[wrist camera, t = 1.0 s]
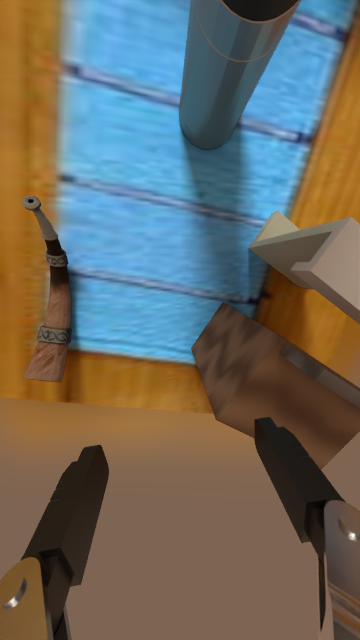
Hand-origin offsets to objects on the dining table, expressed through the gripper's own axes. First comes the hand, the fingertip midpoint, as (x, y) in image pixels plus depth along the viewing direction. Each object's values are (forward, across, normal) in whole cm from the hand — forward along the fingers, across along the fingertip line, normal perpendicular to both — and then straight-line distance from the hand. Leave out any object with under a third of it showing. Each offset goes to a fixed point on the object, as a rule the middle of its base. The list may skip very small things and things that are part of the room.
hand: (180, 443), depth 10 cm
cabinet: (+30, -14, +11) cm, 35 cm away
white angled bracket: (+30, -23, -6) cm, 39 cm away
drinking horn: (+30, +19, -4) cm, 36 cm away
